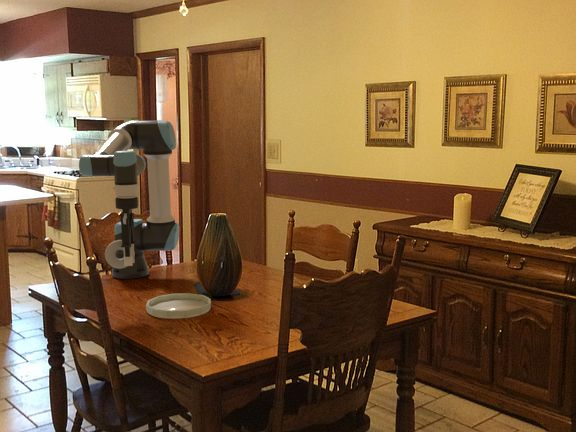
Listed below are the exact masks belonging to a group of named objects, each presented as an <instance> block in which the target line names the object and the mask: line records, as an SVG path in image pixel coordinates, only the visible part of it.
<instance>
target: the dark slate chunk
mask: <svg viewBox="0 0 576 432" xmlns="http://www.w3.org/2000/svg"><path fill="white" fill-rule="evenodd" d="M194 288H195V291H196V293H197V294H199V295H204V296H206V297H208V298H209V297H210V295H209V294H208V293H207V292H206V291H205V290H204V288H203V287H202V285H201V284H200V282H199V281H197V282H195V283H194ZM232 295H233V296H238V295H240V290H238V289H237V288H236V289H235V290H234V291H233V292H232V294H231V296H232ZM210 298H211V297H210Z"/></svg>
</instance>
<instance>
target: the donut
mask: <svg viewBox="0 0 576 432" xmlns="http://www.w3.org/2000/svg"><path fill="white" fill-rule="evenodd" d="M121 246H122V240H116V241H115V240H113V241H112V242H110V243H109V244H108V245H107V246H106V248H105V251H104V258H105V261H106V262H107V264H108V265H109V266H110V267H112V268H113V267H114V268H120V269H121V268H125V267H127V266H124V257H123V258H122V259H118V258H116V255H115V252H116V251H117V250H123V247H121ZM131 247H132V245H131ZM123 251H124V250H123ZM134 256H135V252H134V248H133V247H132V261H133V259H134Z"/></svg>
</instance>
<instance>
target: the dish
mask: <svg viewBox="0 0 576 432" xmlns="http://www.w3.org/2000/svg"><path fill="white" fill-rule="evenodd" d="M211 304H212V300H211V297H210V298H208V297H206V296H204V295H199V294H198V293H197V294H196V293H189V292H188V293H187V292H185V293H169V294H163V295H158V296H156V297H153V298H151V299H148V300H147V302H146V304H145V310H146V312H147V314H148V315H150V316H151V317H154V318H155V317H156V318H158V319H159V318H160V319H166V320H167V319H168V320H170V319H171V320H177V319H179V320H180V319H189V318H195V317H199V316H202V315H205V314H207V313H209V311H210V310H211V306H212V305H211Z"/></svg>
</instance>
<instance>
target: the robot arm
mask: <svg viewBox="0 0 576 432" xmlns="http://www.w3.org/2000/svg"><path fill="white" fill-rule="evenodd" d="M176 147H177V139H176V133H175V129H174V125H173V124H172V123H171V121H168V120H161V119H157V120H156V119H155V120H153V119H152V120H130V121H127V122H123V123H121V124H120V125H118V126H116V127H114V128H113V129H112V130H111V131H110V132H109V133H108V135H107V139H106V140H105V141H104V142H103V143H101V145H100V146H99V147H98V148H97V149H96V150H95V152H93V154H83V155H81V156H80V158H79V161H78V168H79V173H80V175H82V176H83V177H114V186H113V187H112V190H114V196H115V199H114V201H115V203H114V204H115V208H116V209H117V210H122V211H121V214H120V221H119V222H116V224H115V225H114V234H113V235H114V241H116V240H122V246H121V247H123V250H124V251H123V250H117V251H116V252H115V257H116V258H118V259H122V258H123V257H124V266H127V267H125V268H121V269H120V268H114V267H112V269H111V276H112V277H113V278H115V279H121V280H122V279H123V280H131V279H139V278H144V277H146V276H147V277H148V275H149V274H150V273H149V272H150V271H149V270H150V269H149V266H148V263H147V261H146V258H145V253H144V252H145V251H147V252H148V251H152V252H153V251H154V252H155V251H157V252H158V251H160V252H161V251H163V252H166V251H174V250H175V249H176V248H177V246H178V242H179V239H180V223H178V222H176V218H175V216H173V215H172V204H171V185H170V183H171V182H170V181H171V180H170V161H169V159H170V156H172V154H173V150H176ZM135 150H142V154H143V156H144V157H145V158H146V160H145V158H144V157H143V156H142V155H139V154H137V152H136V151H135ZM146 161H147V163H146ZM146 167H147V179H148V180H147V181H148V198H149V202H148V203H149V216H148V217H147V218H146V222H144V221H143V219H142V218H135V213H134V212H133V210H134V209H138V208H139V198H138V195H139V187H138V186H139V185H138V176H139V175H142V174H143V172H144V171H145V169H146ZM131 245H132V247H133V248H134V252H135V256H134V259H133V261H132V247H131Z"/></svg>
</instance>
